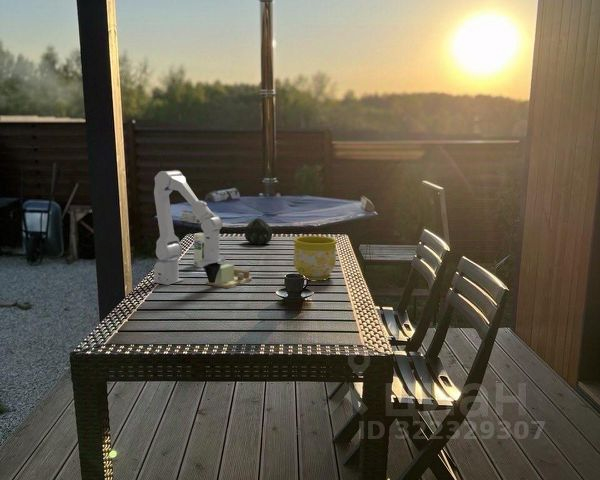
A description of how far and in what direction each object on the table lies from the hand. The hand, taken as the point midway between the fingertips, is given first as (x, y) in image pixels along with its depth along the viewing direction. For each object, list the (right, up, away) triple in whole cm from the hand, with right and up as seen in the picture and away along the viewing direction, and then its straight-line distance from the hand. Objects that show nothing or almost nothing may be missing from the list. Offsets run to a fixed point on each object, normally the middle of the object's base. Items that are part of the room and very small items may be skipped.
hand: (211, 282), depth 227 cm
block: (+4, 0, +7) cm, 8 cm away
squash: (+11, +14, +93) cm, 95 cm away
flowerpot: (+40, 0, +21) cm, 45 cm away
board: (+6, -1, +10) cm, 11 cm away
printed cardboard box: (-10, +5, +38) cm, 40 cm away
